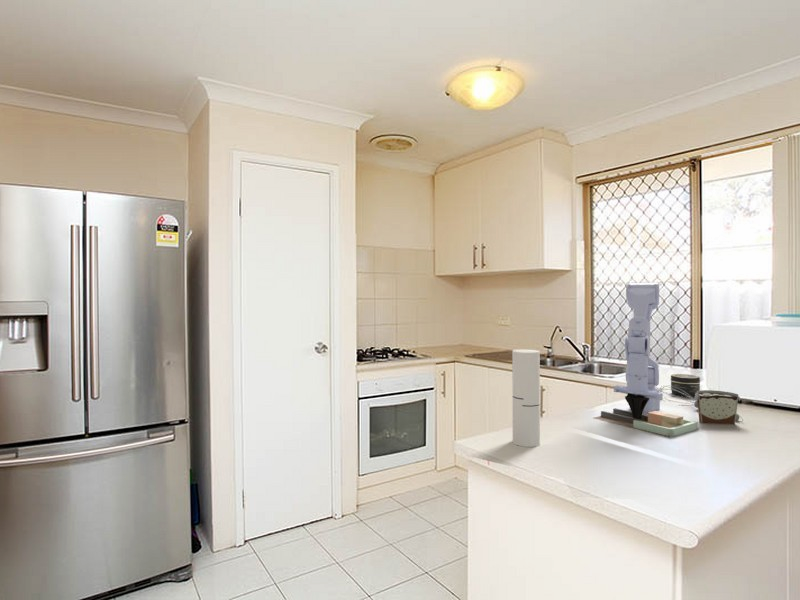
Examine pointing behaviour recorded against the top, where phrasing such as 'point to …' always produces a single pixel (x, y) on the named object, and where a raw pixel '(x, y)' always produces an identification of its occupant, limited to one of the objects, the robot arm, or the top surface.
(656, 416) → the terracotta block
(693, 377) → the jar
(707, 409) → the food container
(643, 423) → the tray
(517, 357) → the cylindrical container
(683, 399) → the kitchen whisk
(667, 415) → the birch block
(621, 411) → the groove board
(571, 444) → the top surface
